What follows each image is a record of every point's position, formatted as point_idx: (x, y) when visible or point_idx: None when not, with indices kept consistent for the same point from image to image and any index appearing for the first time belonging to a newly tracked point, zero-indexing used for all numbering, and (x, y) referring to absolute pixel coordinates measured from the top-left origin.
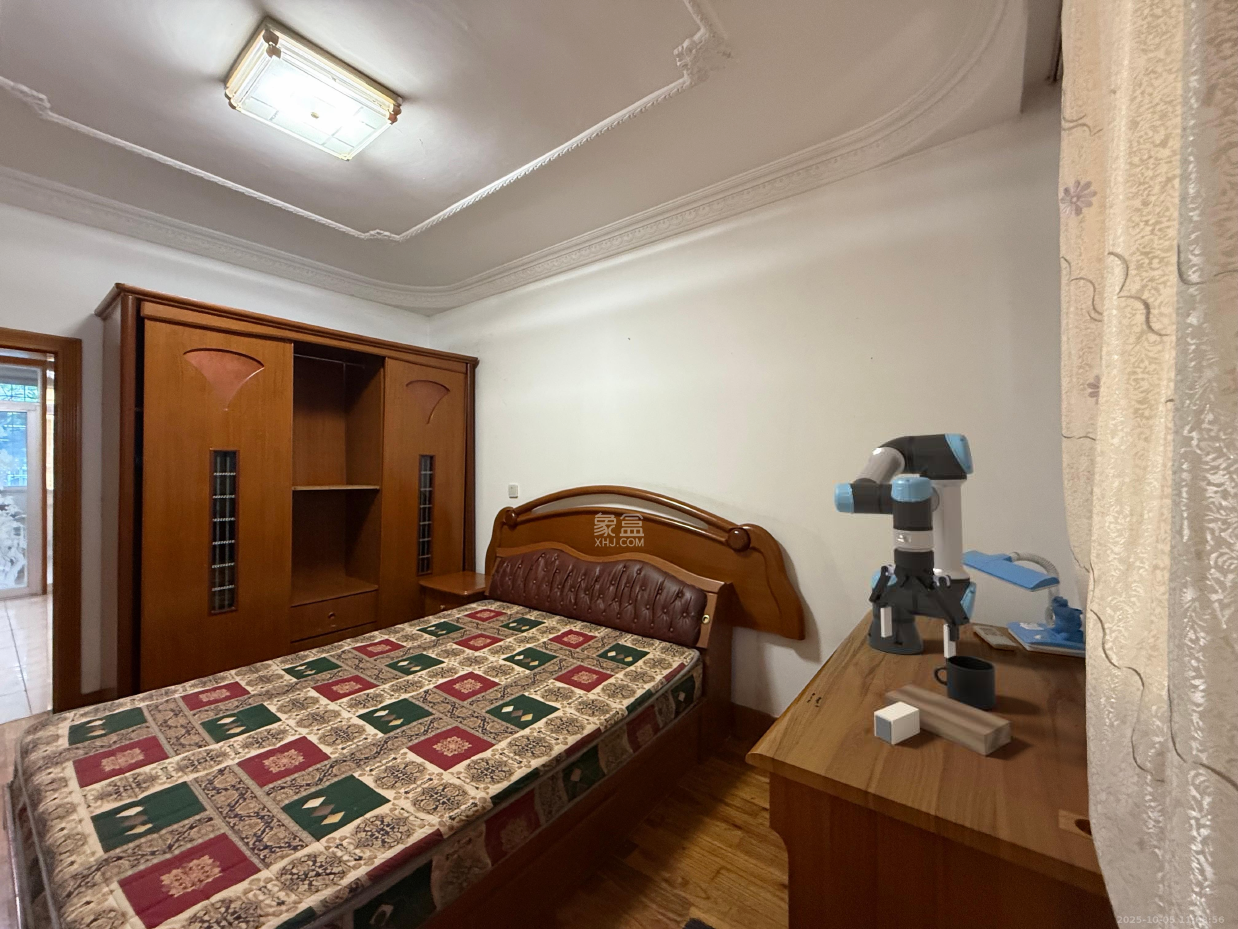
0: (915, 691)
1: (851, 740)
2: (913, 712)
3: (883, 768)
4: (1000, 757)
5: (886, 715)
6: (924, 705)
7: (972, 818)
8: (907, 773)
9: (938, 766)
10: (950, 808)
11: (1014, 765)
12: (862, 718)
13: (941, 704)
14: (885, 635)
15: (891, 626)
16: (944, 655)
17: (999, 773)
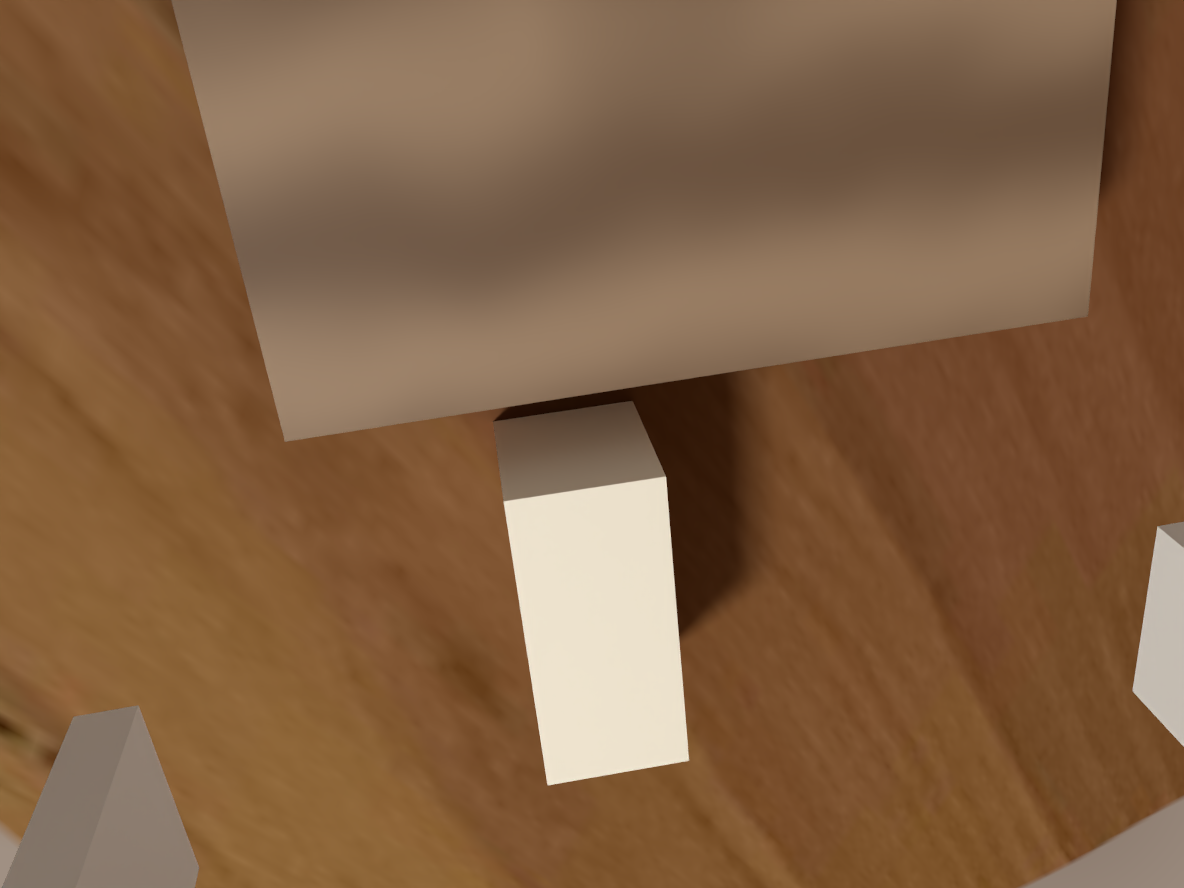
0: (342, 125)
1: (517, 821)
2: (668, 540)
3: (777, 839)
4: None
5: (618, 745)
6: (590, 310)
7: (1172, 765)
8: (861, 774)
9: (910, 602)
10: (1093, 791)
11: (1154, 199)
12: (328, 604)
13: (646, 150)
14: (184, 871)
15: (99, 839)
16: (1143, 700)
17: (1129, 365)
